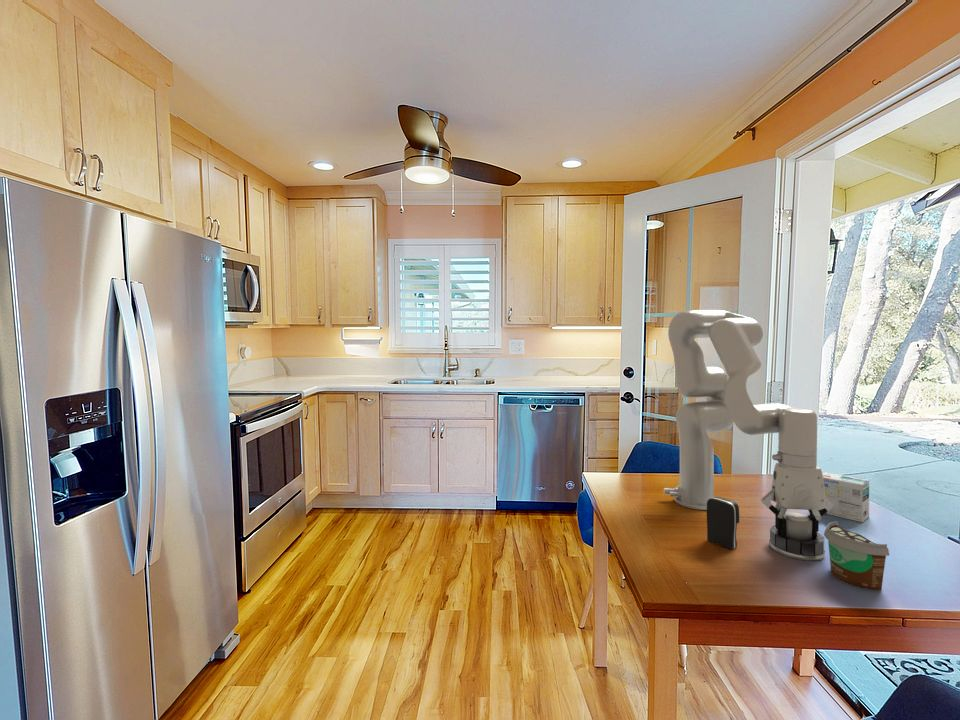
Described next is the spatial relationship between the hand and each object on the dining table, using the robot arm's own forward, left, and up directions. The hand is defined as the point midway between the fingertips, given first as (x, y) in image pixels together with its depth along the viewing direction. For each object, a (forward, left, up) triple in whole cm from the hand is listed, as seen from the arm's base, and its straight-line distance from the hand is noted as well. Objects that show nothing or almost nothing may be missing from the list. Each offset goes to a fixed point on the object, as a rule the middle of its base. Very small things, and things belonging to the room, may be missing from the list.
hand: (796, 532), depth 108 cm
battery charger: (-16, +1, -4) cm, 17 cm away
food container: (+4, -13, -4) cm, 14 cm away
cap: (0, 0, -1) cm, 1 cm away
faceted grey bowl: (0, 0, -4) cm, 4 cm away
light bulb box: (+23, +25, -4) cm, 34 cm away
